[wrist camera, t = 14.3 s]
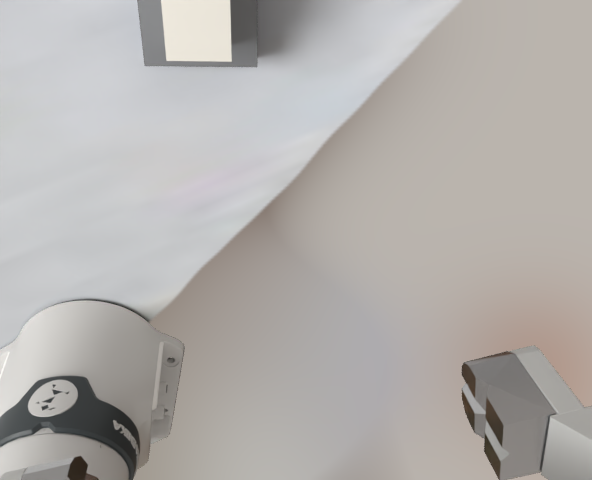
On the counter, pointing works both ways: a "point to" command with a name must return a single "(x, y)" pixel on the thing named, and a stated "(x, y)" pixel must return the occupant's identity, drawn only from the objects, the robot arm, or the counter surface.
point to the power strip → (241, 51)
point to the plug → (197, 30)
